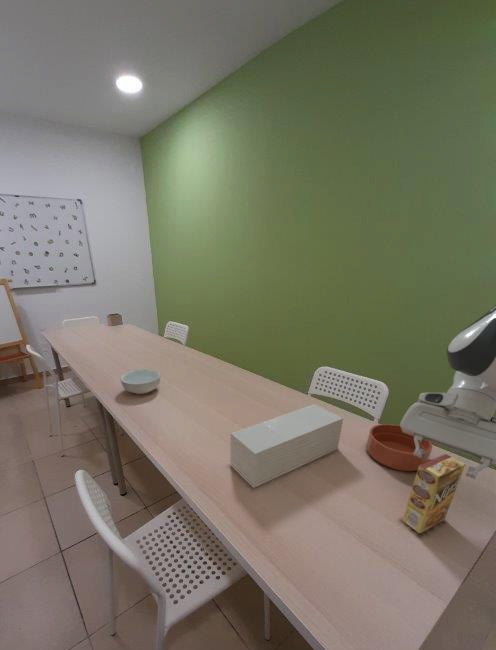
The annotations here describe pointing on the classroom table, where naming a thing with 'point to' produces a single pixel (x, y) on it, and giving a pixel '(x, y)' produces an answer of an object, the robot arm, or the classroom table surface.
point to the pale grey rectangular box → (284, 443)
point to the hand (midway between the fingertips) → (442, 466)
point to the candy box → (432, 492)
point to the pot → (396, 448)
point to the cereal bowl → (140, 381)
